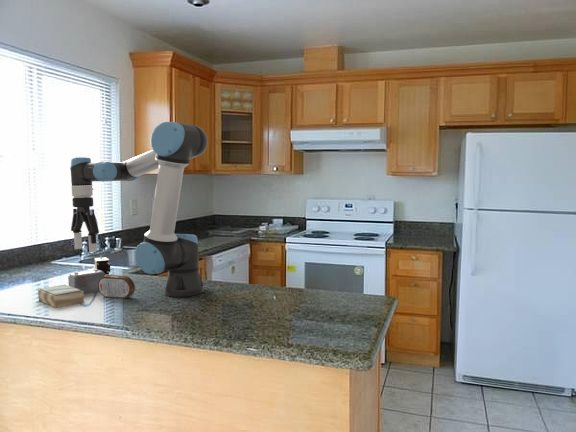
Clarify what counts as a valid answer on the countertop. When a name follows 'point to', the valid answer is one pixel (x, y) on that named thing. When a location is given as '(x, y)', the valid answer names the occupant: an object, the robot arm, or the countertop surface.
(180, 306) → the countertop surface
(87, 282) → the housing
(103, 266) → the pneumatic valve
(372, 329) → the countertop surface
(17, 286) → the countertop surface
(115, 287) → the tin
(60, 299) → the stand
